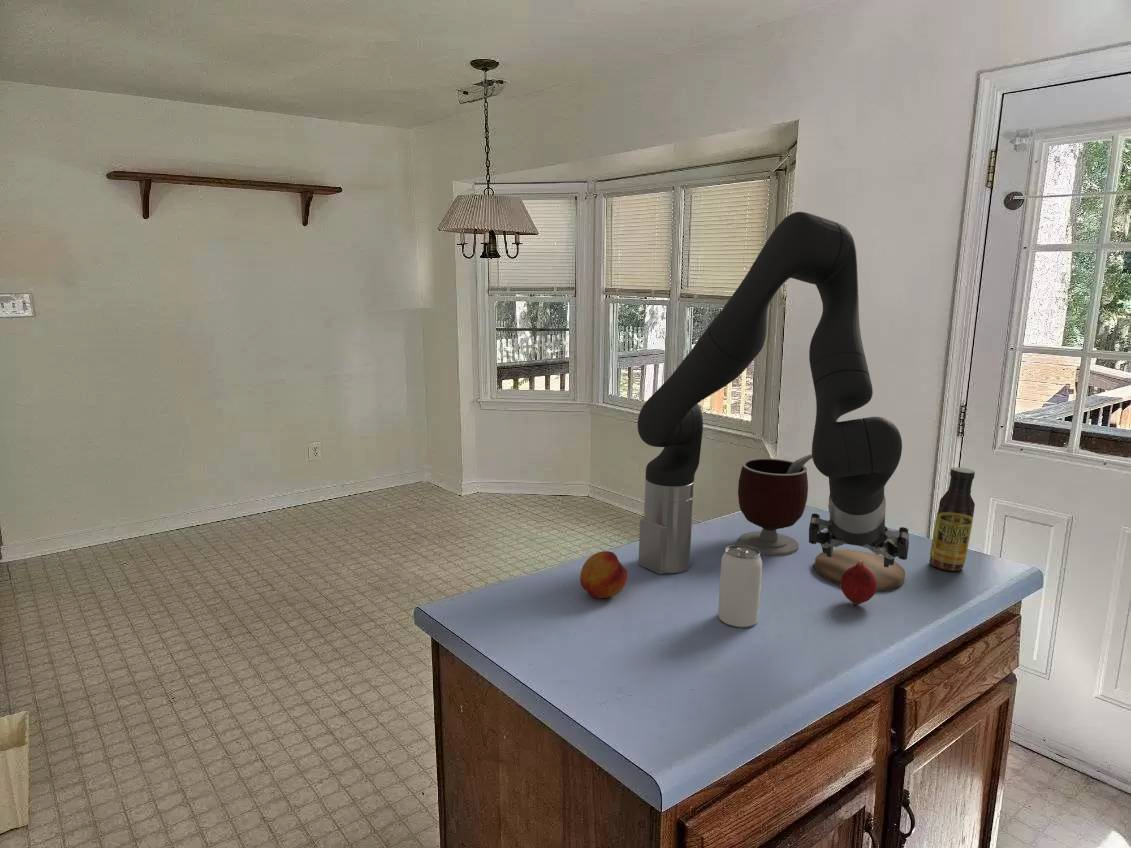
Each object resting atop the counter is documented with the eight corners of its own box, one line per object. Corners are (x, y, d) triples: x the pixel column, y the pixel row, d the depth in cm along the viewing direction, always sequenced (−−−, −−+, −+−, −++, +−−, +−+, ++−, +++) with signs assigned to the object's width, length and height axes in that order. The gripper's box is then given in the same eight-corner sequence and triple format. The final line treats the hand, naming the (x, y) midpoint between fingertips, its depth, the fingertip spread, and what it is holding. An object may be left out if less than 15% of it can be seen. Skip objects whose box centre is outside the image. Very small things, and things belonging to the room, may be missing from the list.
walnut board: (876, 598, 128) (877, 590, 128) (798, 569, 140) (798, 561, 140) (920, 576, 138) (921, 568, 137) (843, 550, 150) (843, 543, 150)
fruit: (622, 608, 123) (624, 564, 121) (576, 603, 125) (576, 559, 123) (628, 589, 130) (630, 547, 129) (584, 584, 132) (585, 542, 130)
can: (759, 614, 121) (764, 546, 119) (756, 631, 115) (761, 561, 113) (720, 607, 124) (724, 541, 121) (715, 624, 118) (719, 555, 115)
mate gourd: (743, 556, 146) (750, 461, 142) (727, 532, 159) (733, 444, 155) (820, 557, 146) (829, 461, 142) (797, 533, 160) (805, 445, 155)
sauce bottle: (929, 569, 141) (942, 471, 137) (927, 558, 146) (939, 463, 142) (967, 575, 138) (982, 475, 134) (963, 563, 144) (977, 467, 140)
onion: (879, 612, 123) (884, 568, 121) (845, 611, 123) (850, 567, 121) (866, 597, 128) (871, 554, 127) (833, 596, 128) (838, 554, 127)
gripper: (914, 494, 103) (909, 544, 115) (810, 479, 109) (815, 528, 121) (908, 541, 99) (903, 587, 112) (801, 523, 106) (807, 569, 118)
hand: (857, 556), depth 116 cm, fingers open, 8 cm apart
